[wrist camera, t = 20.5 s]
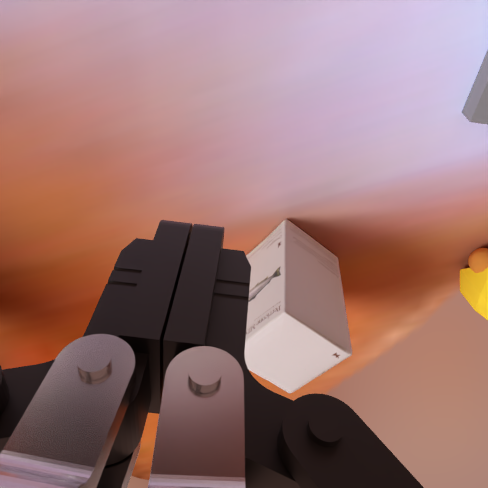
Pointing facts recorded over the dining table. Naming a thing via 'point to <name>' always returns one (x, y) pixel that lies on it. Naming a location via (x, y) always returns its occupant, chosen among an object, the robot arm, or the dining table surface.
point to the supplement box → (294, 309)
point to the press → (478, 97)
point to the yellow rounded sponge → (476, 281)
